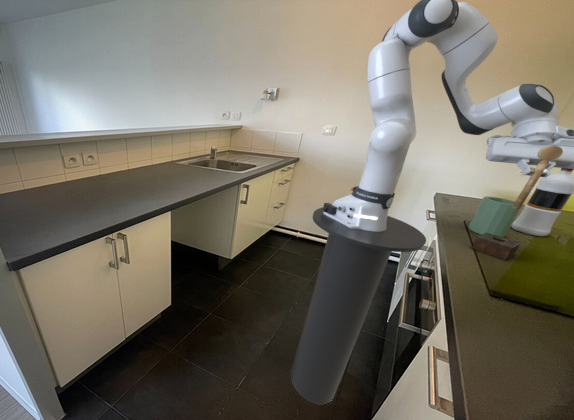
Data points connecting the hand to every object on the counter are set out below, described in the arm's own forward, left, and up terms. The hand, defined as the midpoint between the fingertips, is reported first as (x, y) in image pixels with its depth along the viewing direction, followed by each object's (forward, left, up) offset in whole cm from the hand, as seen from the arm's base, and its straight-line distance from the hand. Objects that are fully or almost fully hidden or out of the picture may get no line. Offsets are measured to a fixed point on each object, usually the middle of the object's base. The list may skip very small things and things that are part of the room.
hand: (536, 175), depth 71 cm
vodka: (0, +37, -26) cm, 45 cm away
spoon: (0, +1, -11) cm, 11 cm away
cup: (-7, +19, -26) cm, 33 cm away
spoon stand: (0, -1, -26) cm, 26 cm away
